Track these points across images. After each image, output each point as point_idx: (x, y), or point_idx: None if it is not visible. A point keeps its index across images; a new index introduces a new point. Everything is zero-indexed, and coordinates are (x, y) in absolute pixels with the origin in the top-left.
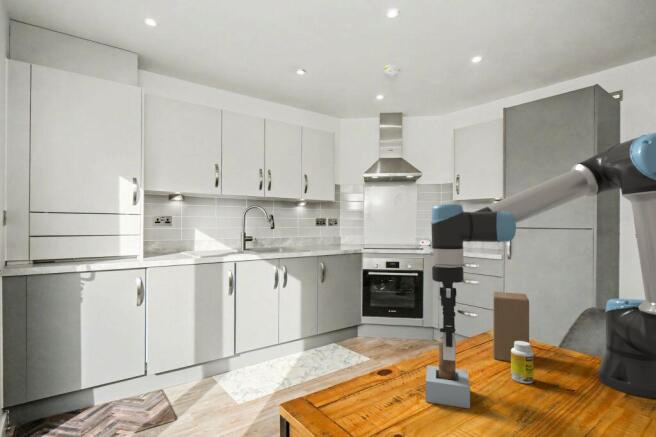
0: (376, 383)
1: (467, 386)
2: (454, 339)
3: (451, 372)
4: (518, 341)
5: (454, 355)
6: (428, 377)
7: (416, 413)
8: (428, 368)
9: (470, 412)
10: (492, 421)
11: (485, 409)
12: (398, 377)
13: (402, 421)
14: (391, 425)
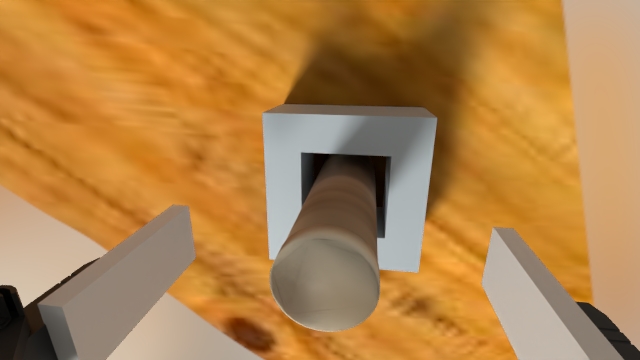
0: (332, 353)
1: (434, 127)
2: (589, 324)
3: (372, 192)
4: None
5: (524, 248)
6: (384, 262)
7: None
8: None
9: (449, 107)
10: (499, 39)
11: (417, 54)
12: (271, 301)
13: None
14: None
